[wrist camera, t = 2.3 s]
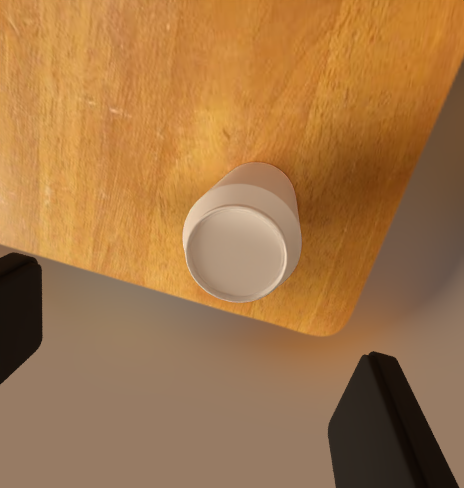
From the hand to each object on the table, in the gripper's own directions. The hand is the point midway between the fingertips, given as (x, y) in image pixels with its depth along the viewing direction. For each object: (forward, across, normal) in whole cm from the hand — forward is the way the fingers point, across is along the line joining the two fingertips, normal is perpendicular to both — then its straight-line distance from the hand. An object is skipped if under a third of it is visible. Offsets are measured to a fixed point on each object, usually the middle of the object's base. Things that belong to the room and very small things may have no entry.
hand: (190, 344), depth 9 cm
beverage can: (+18, -1, 0) cm, 19 cm away
